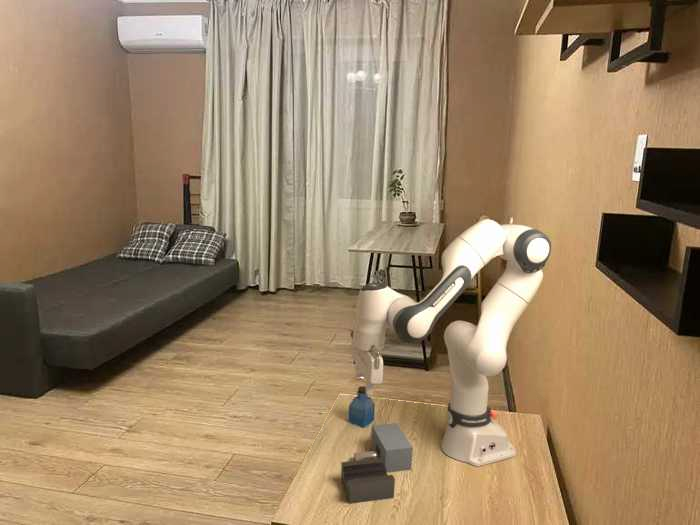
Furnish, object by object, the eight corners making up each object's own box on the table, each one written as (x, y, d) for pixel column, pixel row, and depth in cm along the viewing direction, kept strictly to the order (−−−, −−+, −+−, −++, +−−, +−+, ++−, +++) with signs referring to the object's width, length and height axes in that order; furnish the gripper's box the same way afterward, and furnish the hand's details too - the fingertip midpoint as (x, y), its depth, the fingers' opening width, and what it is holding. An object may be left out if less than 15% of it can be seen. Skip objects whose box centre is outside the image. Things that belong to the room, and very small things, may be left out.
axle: (391, 453, 158) (393, 446, 156) (394, 461, 155) (396, 454, 154) (353, 457, 155) (354, 450, 153) (355, 466, 152) (356, 459, 151)
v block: (382, 475, 147) (383, 457, 146) (393, 497, 138) (394, 479, 137) (340, 480, 144) (341, 462, 143) (349, 503, 135) (350, 484, 134)
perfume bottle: (348, 422, 175) (349, 389, 173) (358, 415, 180) (360, 382, 178) (363, 428, 172) (365, 394, 169) (373, 420, 177) (375, 388, 174)
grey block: (395, 443, 164) (396, 422, 162) (411, 469, 150) (412, 447, 149) (370, 445, 162) (371, 425, 160) (384, 472, 148) (385, 450, 147)
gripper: (391, 354, 137) (385, 402, 140) (369, 328, 157) (365, 371, 159) (368, 354, 136) (363, 403, 138) (349, 328, 155) (345, 371, 158)
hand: (364, 386), depth 149 cm, fingers open, 8 cm apart
